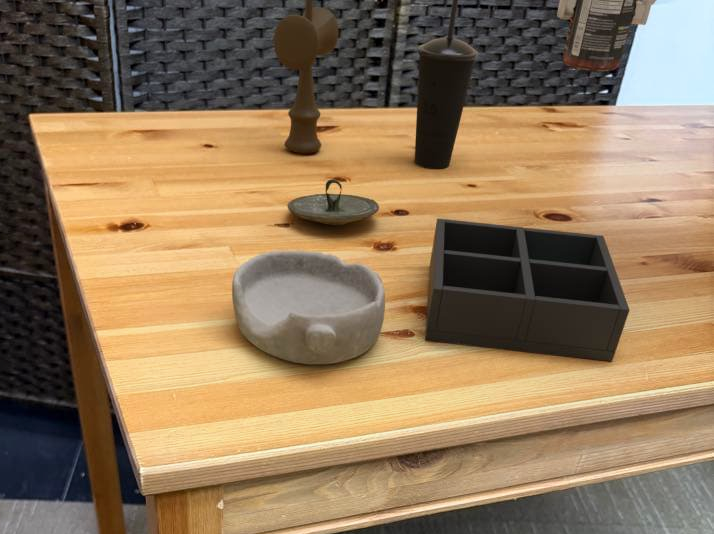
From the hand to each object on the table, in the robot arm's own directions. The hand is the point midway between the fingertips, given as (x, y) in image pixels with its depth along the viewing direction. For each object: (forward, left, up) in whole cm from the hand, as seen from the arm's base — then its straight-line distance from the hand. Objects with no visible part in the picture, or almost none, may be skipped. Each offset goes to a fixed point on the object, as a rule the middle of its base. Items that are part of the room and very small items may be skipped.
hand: (601, 20), depth 83 cm
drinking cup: (+15, -19, -21) cm, 32 cm away
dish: (+25, +33, -21) cm, 46 cm away
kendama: (+33, -19, -21) cm, 43 cm away
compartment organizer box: (+6, +24, -21) cm, 32 cm away
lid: (+26, +6, -21) cm, 34 cm away
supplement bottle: (0, 0, -4) cm, 4 cm away
